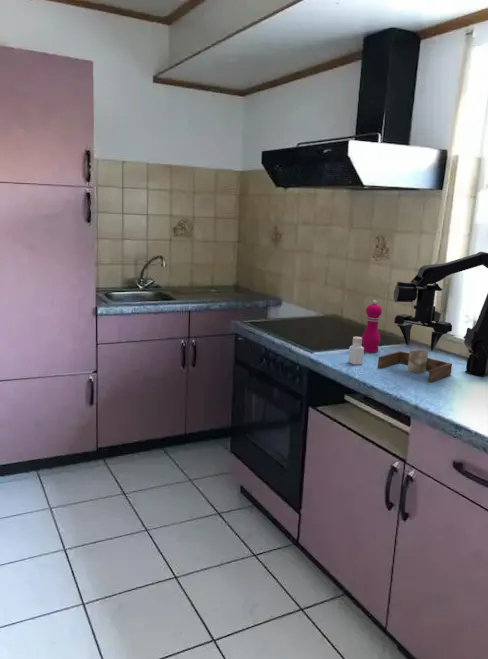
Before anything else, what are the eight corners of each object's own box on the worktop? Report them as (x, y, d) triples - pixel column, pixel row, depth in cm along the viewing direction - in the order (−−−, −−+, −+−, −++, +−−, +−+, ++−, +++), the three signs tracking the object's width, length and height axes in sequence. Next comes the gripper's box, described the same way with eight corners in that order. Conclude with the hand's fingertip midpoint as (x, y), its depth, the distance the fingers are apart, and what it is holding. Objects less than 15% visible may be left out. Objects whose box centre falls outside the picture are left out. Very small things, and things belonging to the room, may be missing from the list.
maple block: (425, 370, 193) (428, 351, 192) (419, 373, 190) (421, 353, 189) (414, 367, 196) (416, 348, 195) (407, 370, 193) (409, 350, 192)
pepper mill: (364, 347, 222) (368, 298, 217) (381, 350, 218) (387, 300, 214) (357, 351, 216) (362, 300, 211) (375, 354, 212) (381, 302, 208)
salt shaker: (357, 361, 201) (359, 336, 199) (363, 364, 197) (365, 338, 195) (347, 362, 199) (349, 336, 197) (353, 365, 196) (355, 339, 194)
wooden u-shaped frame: (450, 374, 190) (452, 363, 189) (430, 382, 180) (432, 370, 179) (398, 361, 204) (399, 350, 203) (377, 367, 194) (378, 356, 193)
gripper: (462, 305, 187) (456, 349, 191) (412, 296, 200) (407, 338, 204) (446, 308, 180) (441, 355, 183) (395, 299, 192) (391, 343, 196)
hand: (419, 347), depth 192 cm, fingers open, 9 cm apart
